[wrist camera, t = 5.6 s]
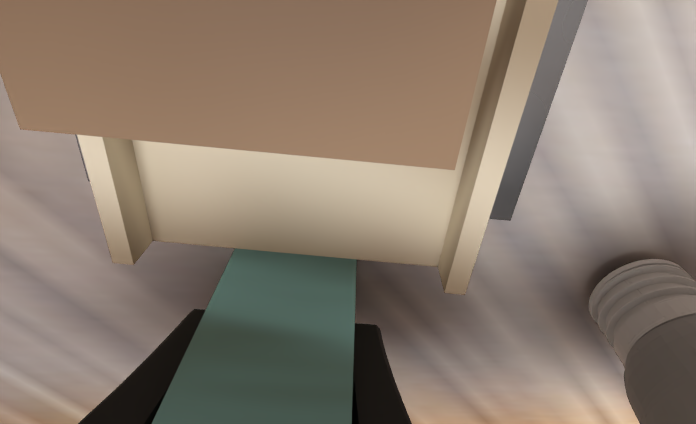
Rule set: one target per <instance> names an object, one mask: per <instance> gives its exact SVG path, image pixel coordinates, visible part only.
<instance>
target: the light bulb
mask: <svg viewBox="0 0 696 424" xmlns="http://www.w3.org/2000/svg"><path fill="white" fill-rule="evenodd" d="M589 312H590V314H591V316H592V318H593V319H594V321H595V322H596V323H597V324H598V325H599V328H600V330H601V331H602V333H603V334H604V335H605V336H606V338H607V340H608V342H609V343H610V345H611V346H612V347H613V348H614V350H615V352H616V354H617V356H618V357H619V359H620V360H621V362H622V363H623V365H624V367H625V372H624V382H625V388H626V393H627V397H628V399H629V402H630V404H631V407H632V409H633V411H634V413H635V415H636V417H637V419H638V421H639V423H640V424H696V281H695V280H694V279H693V277H692V276H690V275H689V274H688V273H687V272H686V271H685V270H684V269H683V268H682V267H680V266H679V265H678V264H676V263H673V262H671V261H667V260H663V259H646V260H639V261H636V262H632V263H629V264H626V265H624V266H622V267H619V268H618V269H616V270H614V271H612V272H611V273H609V274H608V275H607V276H606V277H604V278H603V279H602V280H601V281H600V282H599V283H598V284H597V285H596V287H595V288H594V290H593V291H592V294H591V296H590V299H589Z"/></svg>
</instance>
